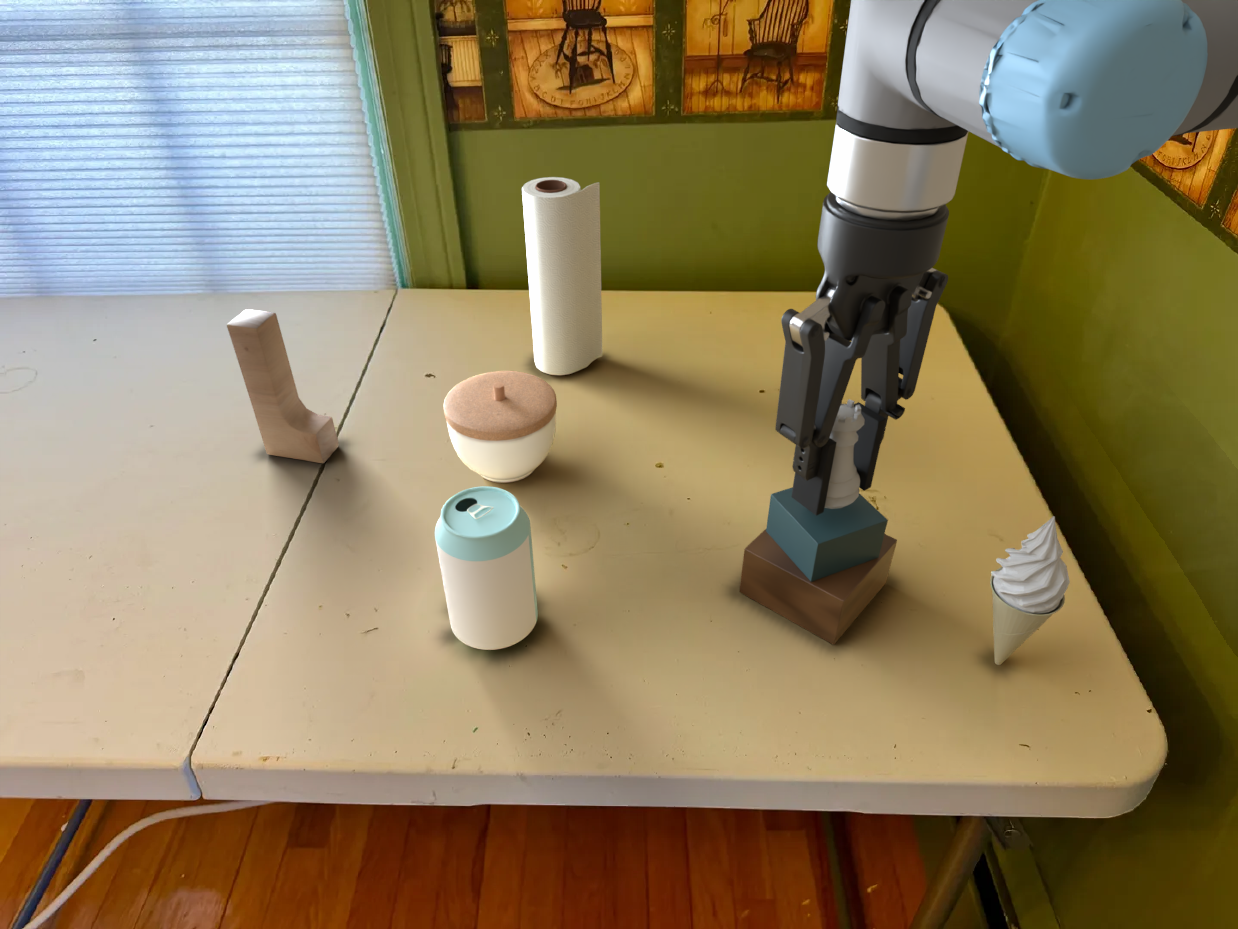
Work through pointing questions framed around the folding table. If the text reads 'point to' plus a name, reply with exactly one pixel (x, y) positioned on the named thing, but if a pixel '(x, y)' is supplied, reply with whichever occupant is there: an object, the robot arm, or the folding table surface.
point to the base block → (812, 587)
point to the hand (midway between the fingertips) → (831, 491)
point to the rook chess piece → (844, 457)
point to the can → (487, 567)
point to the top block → (825, 534)
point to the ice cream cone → (1027, 589)
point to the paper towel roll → (563, 273)
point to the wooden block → (278, 391)
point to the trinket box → (501, 423)
